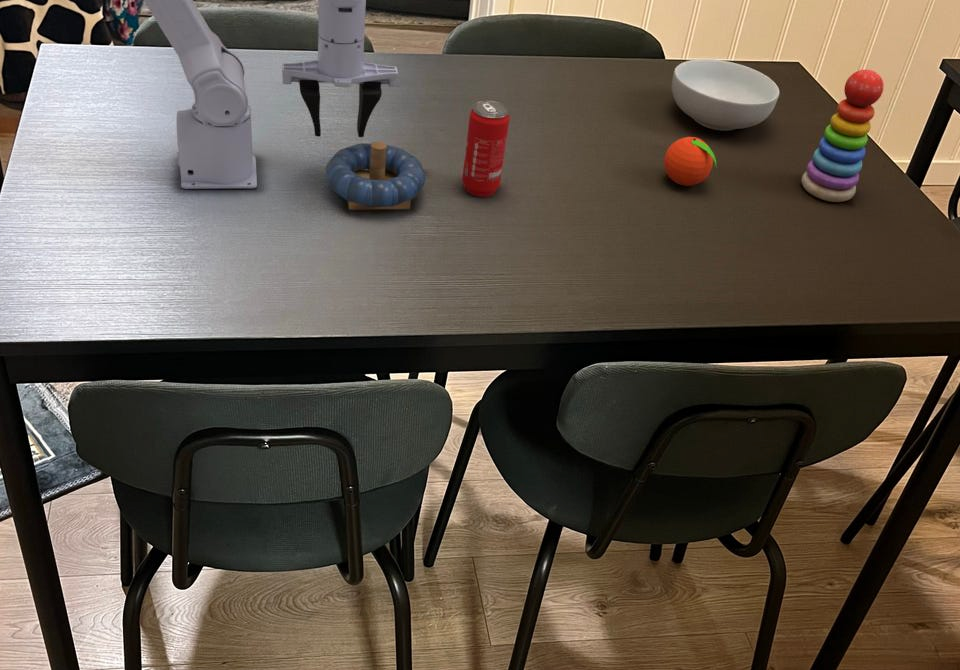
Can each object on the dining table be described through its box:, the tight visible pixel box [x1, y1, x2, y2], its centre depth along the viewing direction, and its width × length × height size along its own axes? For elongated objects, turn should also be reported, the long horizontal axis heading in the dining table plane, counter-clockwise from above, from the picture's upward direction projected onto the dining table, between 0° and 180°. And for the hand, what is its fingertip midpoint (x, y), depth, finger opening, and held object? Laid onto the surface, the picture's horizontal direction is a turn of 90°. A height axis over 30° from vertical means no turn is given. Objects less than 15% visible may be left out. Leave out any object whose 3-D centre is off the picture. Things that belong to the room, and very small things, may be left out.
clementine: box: [663, 136, 717, 187], centre depth 138 cm, size 8×7×7 cm
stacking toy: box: [801, 69, 884, 203], centre depth 137 cm, size 8×8×19 cm
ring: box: [325, 142, 426, 207], centre depth 126 cm, size 13×13×3 cm
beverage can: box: [461, 100, 511, 198], centre depth 128 cm, size 5×5×12 cm
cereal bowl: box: [671, 58, 780, 132], centre depth 155 cm, size 17×17×7 cm
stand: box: [347, 141, 412, 211], centre depth 126 cm, size 8×8×7 cm
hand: (339, 133), depth 128 cm, fingers open, 5 cm apart
